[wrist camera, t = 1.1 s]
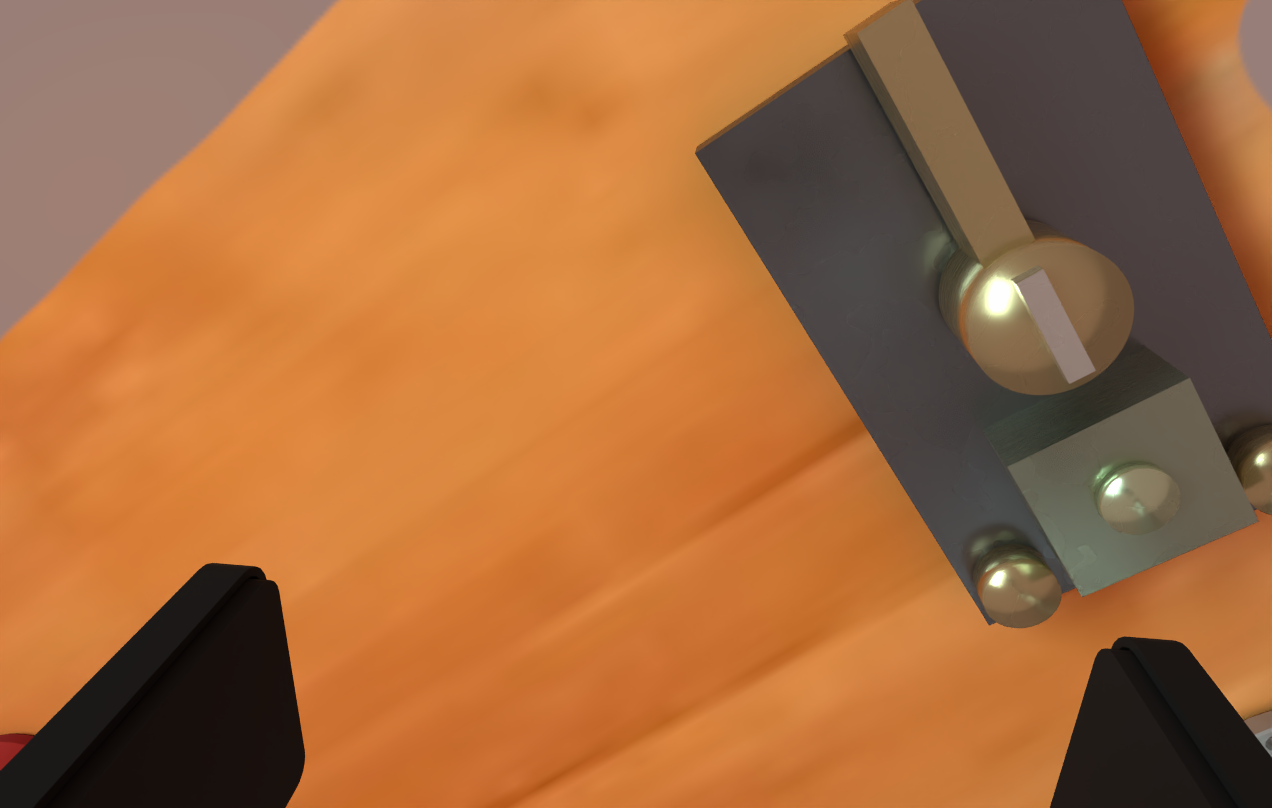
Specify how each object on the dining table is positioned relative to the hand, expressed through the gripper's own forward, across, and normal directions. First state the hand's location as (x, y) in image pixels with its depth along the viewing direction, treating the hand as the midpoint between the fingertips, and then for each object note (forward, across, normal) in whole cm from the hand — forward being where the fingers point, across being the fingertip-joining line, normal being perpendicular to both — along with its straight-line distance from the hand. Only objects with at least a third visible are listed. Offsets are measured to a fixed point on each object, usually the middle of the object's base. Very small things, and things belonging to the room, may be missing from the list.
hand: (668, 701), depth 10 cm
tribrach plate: (+24, -11, +2) cm, 26 cm away
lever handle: (+21, -8, -3) cm, 23 cm away
